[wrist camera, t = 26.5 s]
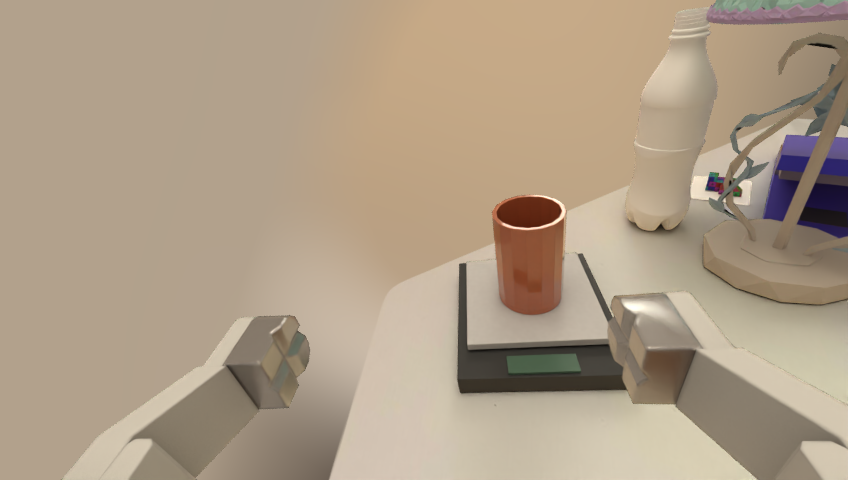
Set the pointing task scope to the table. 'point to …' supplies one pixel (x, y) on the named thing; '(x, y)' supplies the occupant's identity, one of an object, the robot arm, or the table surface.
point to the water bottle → (672, 126)
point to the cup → (530, 252)
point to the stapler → (831, 194)
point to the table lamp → (786, 241)
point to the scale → (534, 336)
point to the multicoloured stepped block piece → (719, 189)
